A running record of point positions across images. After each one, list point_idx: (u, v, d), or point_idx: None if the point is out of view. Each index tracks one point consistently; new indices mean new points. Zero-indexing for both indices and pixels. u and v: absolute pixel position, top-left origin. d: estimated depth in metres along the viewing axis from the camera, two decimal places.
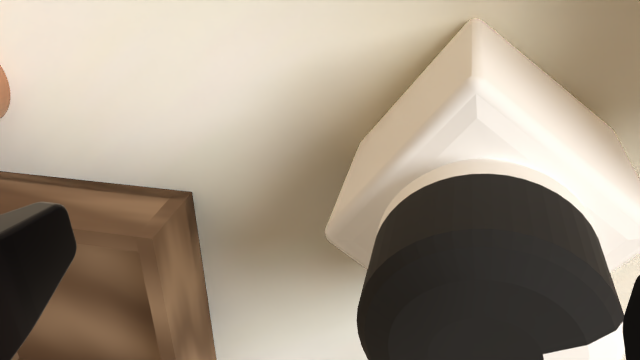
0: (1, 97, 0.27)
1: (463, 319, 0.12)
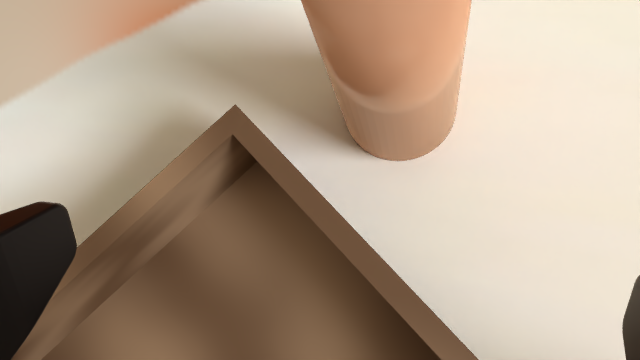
0: (428, 148, 0.22)
1: None
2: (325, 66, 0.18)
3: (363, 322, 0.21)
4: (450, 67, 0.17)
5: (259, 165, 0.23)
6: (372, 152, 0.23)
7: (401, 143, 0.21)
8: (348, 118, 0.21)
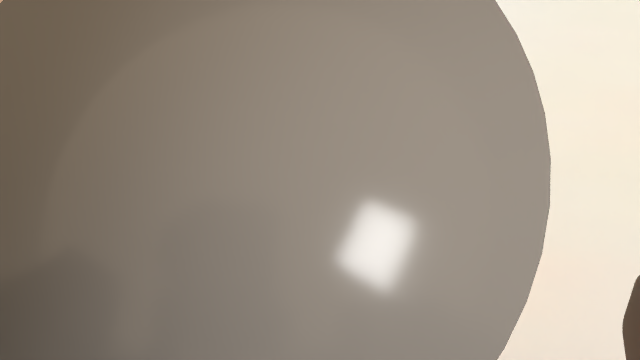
0: None
1: None
2: None
3: None
4: None
5: None
6: None
7: None
8: None
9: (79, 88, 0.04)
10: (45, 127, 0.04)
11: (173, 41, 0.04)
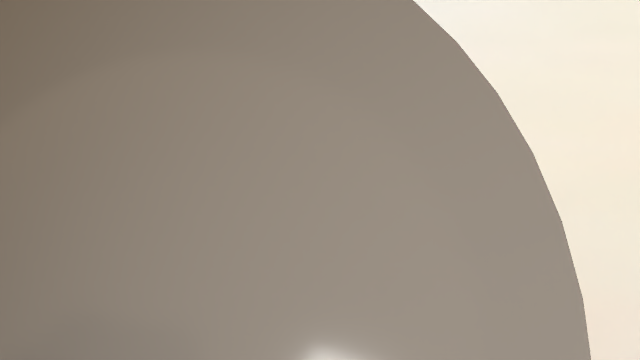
0: None
1: None
2: None
3: None
4: None
5: None
6: None
7: None
8: None
9: None
10: None
11: (6, 147, 0.03)
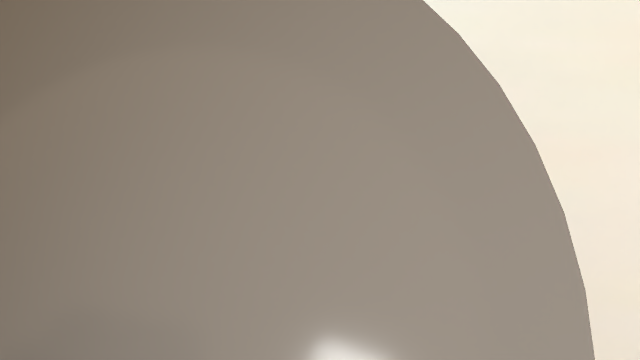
0: None
1: None
2: None
3: None
4: None
5: None
6: None
7: None
8: None
9: None
10: None
11: (8, 139, 0.03)
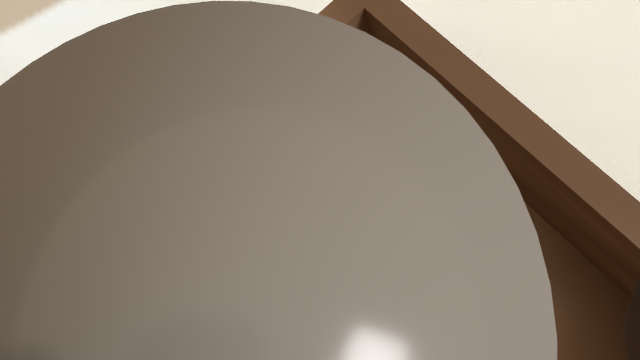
0: None
1: None
2: None
3: None
4: None
5: None
6: None
7: None
8: None
9: (41, 228, 0.04)
10: (3, 273, 0.04)
11: (144, 178, 0.04)
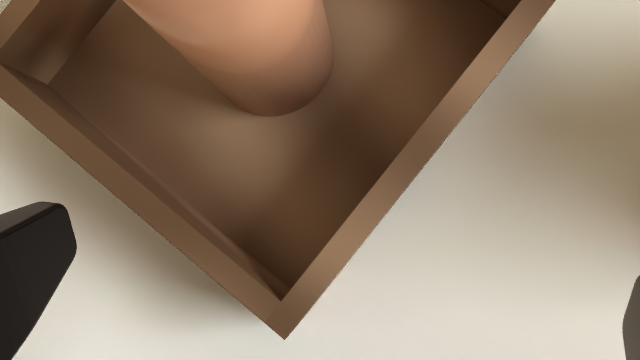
0: (307, 98, 0.20)
1: None
2: None
3: None
4: (299, 17, 0.14)
5: None
6: (248, 111, 0.21)
7: (273, 100, 0.19)
8: (209, 81, 0.18)
9: None
10: None
11: None
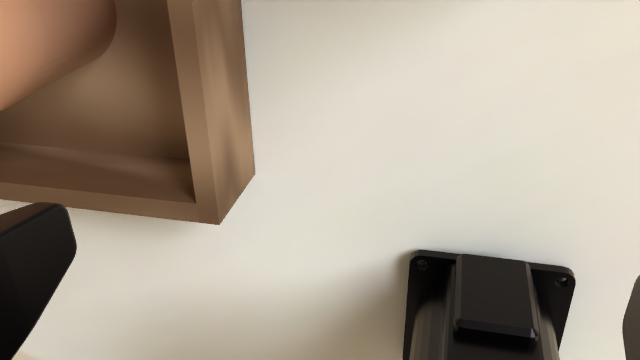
0: (108, 23, 0.21)
1: None
2: None
3: None
4: None
5: None
6: None
7: (78, 60, 0.20)
8: None
9: None
10: None
11: None
